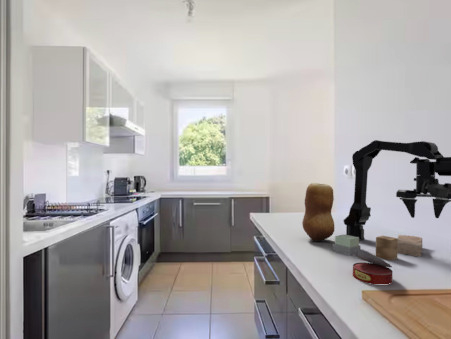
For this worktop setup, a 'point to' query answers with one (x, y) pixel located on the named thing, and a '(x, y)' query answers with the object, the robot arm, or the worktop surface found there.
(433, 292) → the worktop surface
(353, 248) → the base block
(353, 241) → the top block
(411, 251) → the brick
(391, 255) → the tan rectangular prism
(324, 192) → the butternut squash
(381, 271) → the canned food
